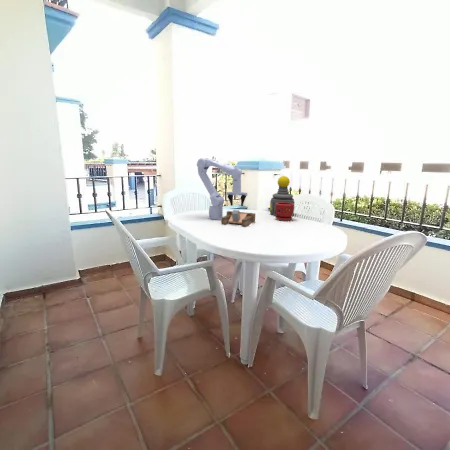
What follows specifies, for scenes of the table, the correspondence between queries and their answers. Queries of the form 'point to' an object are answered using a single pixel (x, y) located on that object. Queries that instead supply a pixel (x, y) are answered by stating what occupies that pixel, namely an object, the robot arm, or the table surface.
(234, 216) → the stone
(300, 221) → the table surface
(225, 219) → the frame
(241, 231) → the table surface
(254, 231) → the table surface
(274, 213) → the decorative lamp
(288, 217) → the plant pot
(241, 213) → the trapdoor
